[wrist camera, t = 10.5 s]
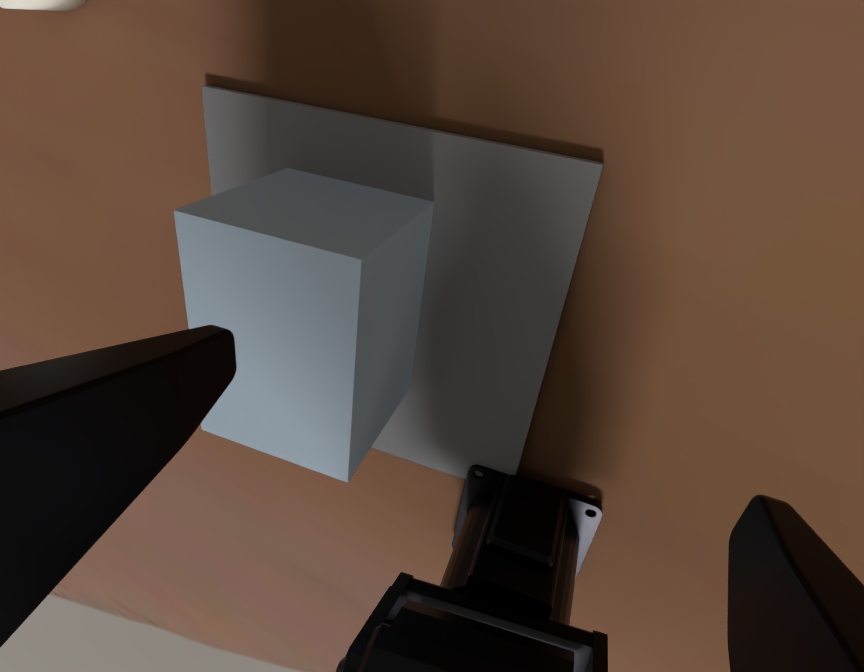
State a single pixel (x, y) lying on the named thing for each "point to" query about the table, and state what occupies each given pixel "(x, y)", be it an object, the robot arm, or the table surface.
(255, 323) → the grey rectangular block
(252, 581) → the table surface
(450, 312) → the mat
